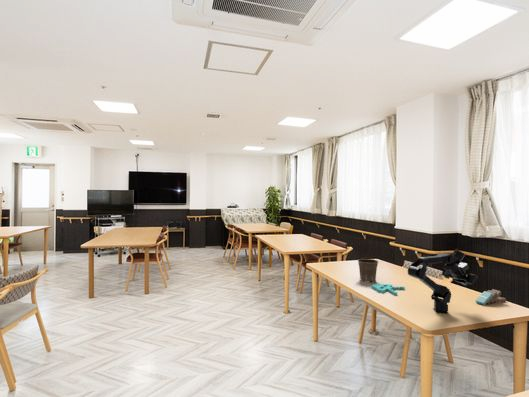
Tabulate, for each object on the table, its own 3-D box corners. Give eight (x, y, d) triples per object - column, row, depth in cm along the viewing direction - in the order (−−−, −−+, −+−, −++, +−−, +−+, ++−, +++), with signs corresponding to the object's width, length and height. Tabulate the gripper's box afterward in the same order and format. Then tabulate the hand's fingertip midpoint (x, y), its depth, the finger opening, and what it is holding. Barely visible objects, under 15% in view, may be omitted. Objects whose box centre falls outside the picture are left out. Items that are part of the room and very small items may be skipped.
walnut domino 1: (487, 302, 200) (496, 292, 203) (479, 299, 205) (488, 290, 208) (488, 304, 200) (497, 294, 203) (480, 302, 205) (489, 292, 208)
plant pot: (378, 283, 249) (378, 263, 249) (357, 281, 255) (357, 261, 255) (378, 278, 265) (378, 259, 265) (358, 277, 270) (358, 258, 270)
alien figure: (404, 289, 234) (377, 285, 247) (404, 286, 234) (377, 282, 247) (396, 296, 219) (368, 290, 231) (396, 293, 219) (368, 287, 231)
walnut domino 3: (495, 300, 203) (505, 298, 206) (487, 297, 207) (497, 296, 211) (495, 303, 203) (505, 301, 206) (487, 301, 207) (497, 299, 211)
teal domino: (483, 302, 198) (492, 293, 202) (475, 300, 203) (484, 291, 206) (484, 305, 199) (493, 295, 202) (476, 302, 203) (485, 293, 207)
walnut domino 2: (491, 301, 201) (500, 291, 204) (484, 298, 206) (492, 289, 209) (493, 303, 202) (501, 293, 205) (485, 301, 206) (493, 291, 209)
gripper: (475, 261, 186) (487, 278, 190) (446, 256, 203) (458, 271, 207) (466, 276, 183) (479, 293, 187) (437, 269, 200) (450, 284, 204)
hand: (466, 284), depth 196 cm, fingers closed
